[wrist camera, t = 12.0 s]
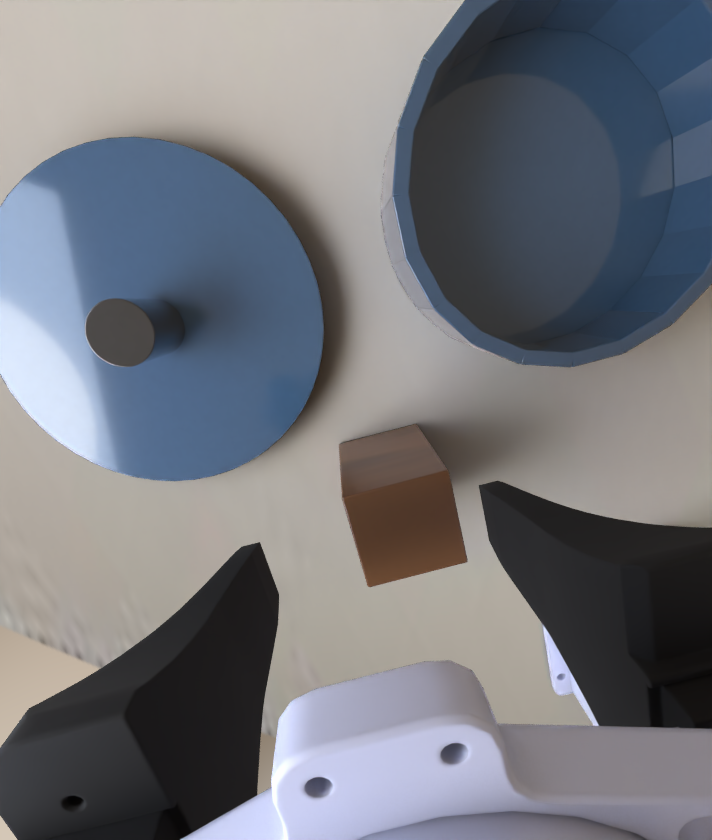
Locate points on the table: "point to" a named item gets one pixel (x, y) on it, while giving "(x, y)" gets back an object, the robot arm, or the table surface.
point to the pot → (556, 176)
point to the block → (399, 505)
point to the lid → (155, 309)
